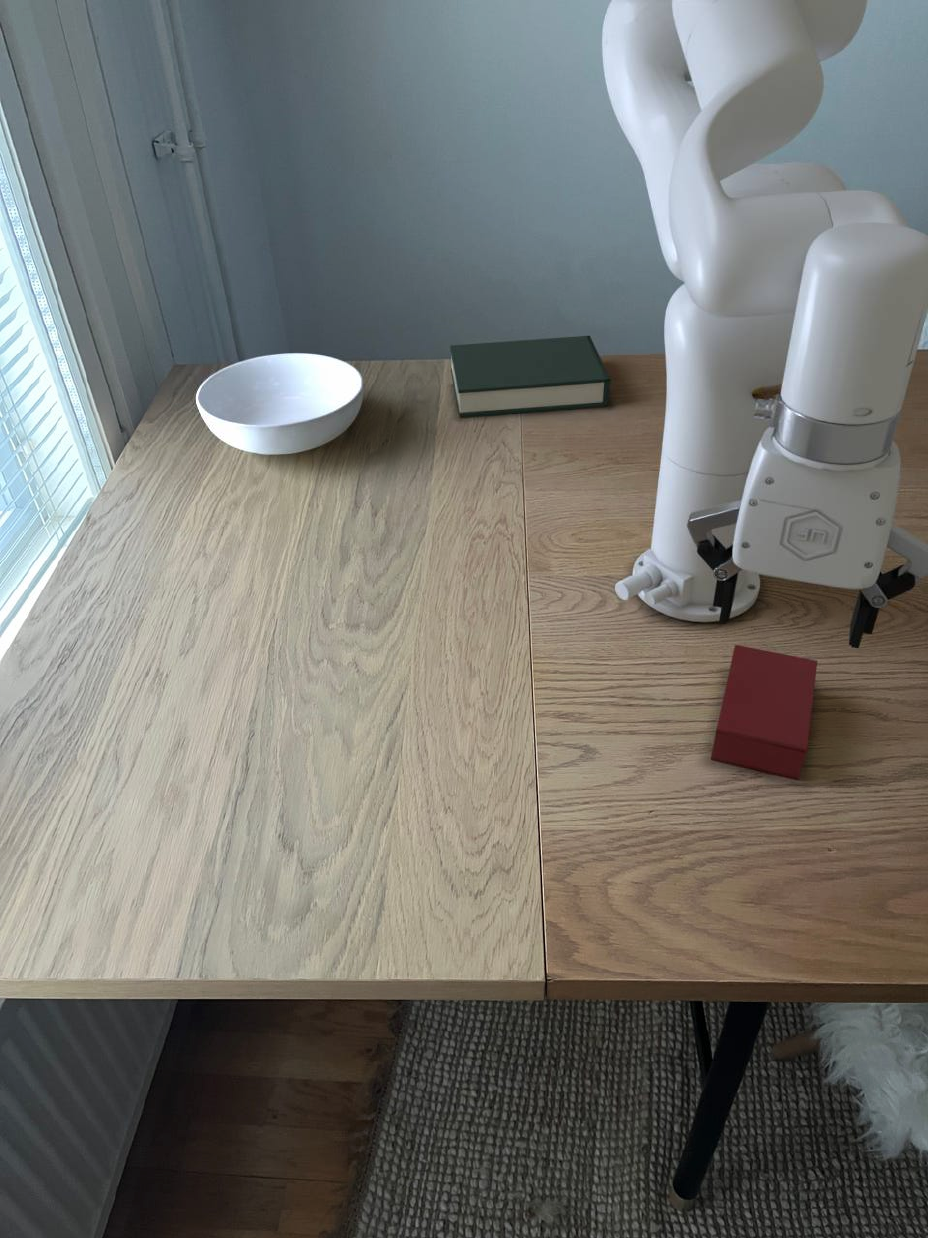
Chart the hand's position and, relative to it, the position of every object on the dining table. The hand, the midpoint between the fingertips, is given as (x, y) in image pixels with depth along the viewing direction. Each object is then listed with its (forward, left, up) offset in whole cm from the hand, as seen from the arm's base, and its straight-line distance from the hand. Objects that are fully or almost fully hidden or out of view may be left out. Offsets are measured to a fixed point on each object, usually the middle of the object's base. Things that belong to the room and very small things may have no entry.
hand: (788, 624), depth 74 cm
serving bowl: (-7, +72, -12) cm, 74 cm away
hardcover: (+25, +62, -12) cm, 68 cm away
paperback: (0, 0, -12) cm, 12 cm away
